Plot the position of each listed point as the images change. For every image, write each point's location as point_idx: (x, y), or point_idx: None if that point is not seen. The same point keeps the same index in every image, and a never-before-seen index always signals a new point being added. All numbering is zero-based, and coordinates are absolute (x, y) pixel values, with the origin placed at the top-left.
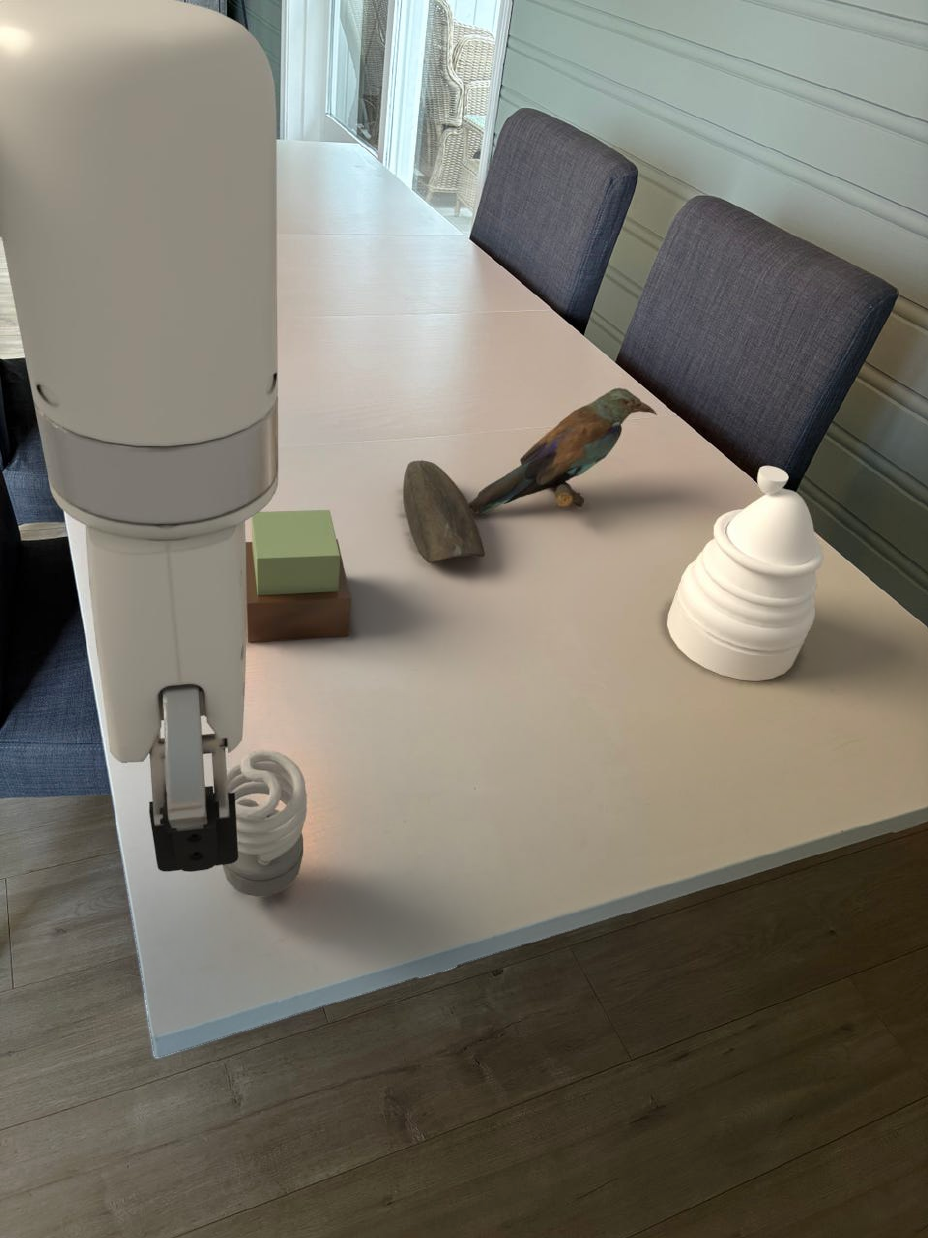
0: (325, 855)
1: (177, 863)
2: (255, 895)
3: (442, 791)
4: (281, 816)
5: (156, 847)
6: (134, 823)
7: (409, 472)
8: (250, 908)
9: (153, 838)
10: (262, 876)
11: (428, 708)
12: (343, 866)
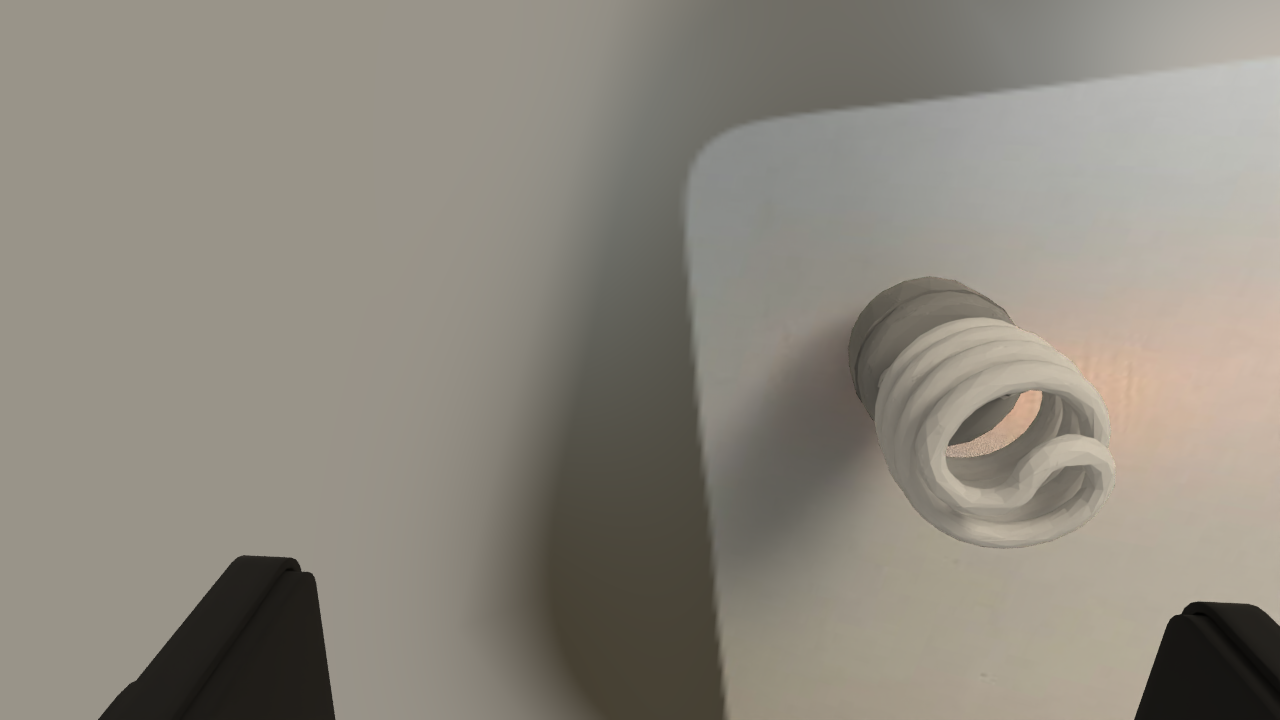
0: None
1: (117, 703)
2: (853, 327)
3: (996, 628)
4: (913, 487)
5: (155, 664)
6: (1137, 89)
7: None
8: (863, 294)
9: (110, 713)
10: (862, 365)
11: None
12: None
